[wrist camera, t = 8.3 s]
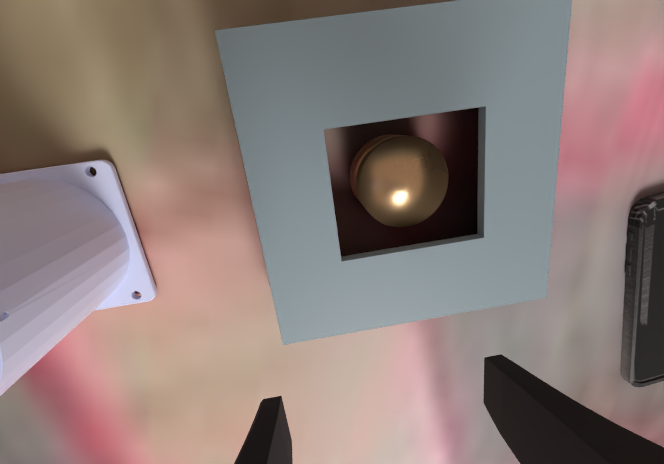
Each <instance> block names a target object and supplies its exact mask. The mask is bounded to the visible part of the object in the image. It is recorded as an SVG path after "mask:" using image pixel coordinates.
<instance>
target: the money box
mask: <svg viewBox="0 0 664 464" xmlns="http://www.w3.org/2000/svg"><path fill="white" fill-rule="evenodd" d="M571 5H572V0H456V1H448V2H440V3H432V4H424V5H416V6H407V7H399V8H391V9H383V10H375V11H367V12H359V13H351V14H343V15H335V16H327V17H318V18H310V19H302V20H294V21H286V22H278V23H270V24H262V25H254V26H246V27H238V28H230V29H221V30H215V35H216V39H217V44H218V49H219V53H220V58H221V62H222V67H223V72H224V76H225V81H226V85H227V90H228V94H229V99H230V104H231V108H232V113H233V117H234V122H235V127H236V131H237V136H238V140H239V145H240V150H241V154H242V159H243V163H244V168H245V172H246V177H247V182H248V186H249V191H250V195H251V200H252V205H253V209H254V214H255V218H256V223H257V228H258V232H259V237H260V241H261V246H262V250H263V255H264V260H265V264H266V269H267V273H268V278H269V283H270V287H271V292H272V296H273V301H274V306H275V310H276V315H277V319H278V324H279V328H280V333H281V338H282V342H283V345H286V344H291V343H297V342H303V341H308V340H314V339H319V338H325V337H330V336H336V335H342V334H347V333H353V332H358V331H364V330H369V329H375V328H381V327H386V326H392V325H397V324H403V323H408V322H414V321H419V320H425V319H431V318H436V317H442V316H447V315H453V314H458V313H464V312H470V311H475V310H481V309H486V308H492V307H497V306H503V305H509V304H514V303H520V302H525V301H531V300H536V299H542V298H546V296H547V284H548V273H549V261H550V249H551V238H552V226H553V215H554V203H555V191H556V180H557V168H558V156H559V145H560V133H561V122H562V110H563V98H564V87H565V75H566V63H567V52H568V40H569V29H570V17H571ZM477 107H479V115H478V228H477V234H474V235H468V236H462V237H456V238H450V239H444V240H438V241H432V242H426V243H419V244H413V245H407V246H401V247H395V248H389V249H383V250H377V251H371V252H365V253H359V254H353V255H347V256H341V254H340V247H339V239H338V232H337V224H336V217H335V210H334V202H333V195H332V188H331V180H330V173H329V166H328V158H327V151H326V144H325V136H324V129H331V128H338V127H345V126H352V125H359V124H366V123H373V122H380V121H387V120H394V119H401V118H408V117H415V116H422V115H429V114H435V113H442V112H449V111H456V110H463V109H470V108H477Z"/></svg>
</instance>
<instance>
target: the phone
mask: <svg viewBox="0 0 664 464" xmlns="http://www.w3.org/2000/svg"><path fill="white" fill-rule="evenodd" d="M621 376H622V377H623V378H624V379H625V380H626V381H628V382H629V383H630V384H631V385H633V386H635V387H644V386H647V385H651V384H654V383H657V382H661V381H664V192H661V193H658V194H654V195H651V196H647V197H645V198H642V199H641V200H639V201H638V202H637V203H636V204H635V205H634V206H633V207H632V209H631V211H630V213H629V217H628V234H627V254H626V274H625V294H624V314H623V334H622V354H621Z"/></svg>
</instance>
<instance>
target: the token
mask: <svg viewBox="0 0 664 464" xmlns="http://www.w3.org/2000/svg"><path fill="white" fill-rule="evenodd" d="M350 184H351V188H352V191H353V193H354V195H355V196H356V198H357V199H358V200H359V202H360V203H361V204H362V205H363V206H364V208H365V209H366V210H367V211H368V212H369V214H370V215H371V216H372V217H373V218H375V219H376V220H377V221H379V222H381V223H383V224H385V225H388V226H392V227H408V226H412V225H415V224H418V223H420V222H422V221H424V220H425V219H427V218H428V217H429V216H431V215H432V214H433V213H434V212H435V211H436V210H437V208H438V207H439V206H440V204H441V203H442V201H443V199H444V197H445V194H446V191H447V187H448V169H447V165H446V162H445V159H444V157H443V156H442V154H441V153H440V151H439V150H438V149H437V148H436V147H435V146H434V145H433V144H431V143H430V142H428V141H426V140H425V139H422V138H419V137H414V136H404V135H393V134H388V135H381V136H378V137H375V138H373V139H371V140H370V141H368V142H367V143H365V144H364V145H363V146H362V147H361V148H360V149H359V151H358V152H357V154H356V155H355V157H354V159H353V161H352V164H351V169H350Z"/></svg>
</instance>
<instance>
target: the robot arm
mask: <svg viewBox="0 0 664 464" xmlns="http://www.w3.org/2000/svg"><path fill="white" fill-rule="evenodd" d="M90 167H93V168H95V170H96V172H97V174H96V176H94V175H92V174H91V172H90ZM135 291H138V292H139V293H140V294H141V296H137V295H136V294H135ZM156 294H157V289H156V286H155V283H154V280H153V277H152V274H151V271H150V268H149V265H148V262H147V259H146V257H145V254H144V251H143V248H142V245H141V242H140V239H139V236H138V233H137V230H136V227H135V225H134V222H133V219H132V216H131V213H130V210H129V207H128V204H127V201H126V198H125V195H124V193H123V190H122V187H121V184H120V181H119V178H118V175H117V172H116V169H115V167H114V165H113V164H112V163H111V162H110V161H107V160H95V161H88V162H81V163H74V164H67V165H60V166H53V167H46V168H39V169H32V170H25V171H18V172H11V173H4V174H0V396H1V395H2V394H3V393H4V392H5V391H6V390H7V389H8V388H9V387H10V386H12V385H13V384H14V383H15V382H16V381H17V380H18V379H19V378H20V377H21V376H22V375H24V374H25V373H26V372H27V371H28V370H29V369H30V368H31V367H32V366H33V365H34V364H36V363H37V362H38V361H39V360H40V359H41V358H42V357H43V356H44V355H45V354H46V353H48V352H49V351H50V350H51V349H52V348H53V347H54V346H55V345H56V344H57V343H58V342H60V341H61V340H62V339H63V338H64V337H65V336H66V335H67V334H68V333H69V332H70V331H72V330H73V329H74V328H75V327H76V326H77V325H78V324H79V323H80V322H81V321H82V320H84V319H85V318H86V317H87V316H88V315H89V314H90V313H91V312H92V311H93V310H99V309H105V308H111V307H117V306H123V305H129V304H135V303H141V302H147V301H151V300H152V299H153V298H154V297H155V296H156ZM484 404H485V406H486V408H487V410H488V412H489V414H490V416H491V418H492V420H493V422H494V423H495V425H496V427H497V429H498V431H499V432H500V434H501V436H502V437H503V439H504V440H505V442H506V443H507V445H508V446H509V448H510V449H511V450H512V452H513V453H514V455H515V456H516V458H517V459H518V461H519V462H520V464H664V447H662V446H660V445H657V444H655V443H653V442H651V441H649V440H647V439H645V438H643V437H641V436H639V435H637V434H635V433H633V432H631V431H629V430H627V429H625V428H623V427H621V426H619V425H617V424H615V423H613V422H612V421H610V420H608V419H606V418H604V417H602V416H601V415H599V414H597V413H595V412H594V411H592V410H590V409H588V408H586V407H585V406H583V405H581V404H580V403H578V402H576V401H574V400H573V399H571V398H569V397H568V396H566V395H564V394H563V393H561V392H560V391H558V390H556V389H555V388H553V387H551V386H550V385H548V384H547V383H545V382H544V381H542V380H540V379H539V378H537V377H536V376H534V375H533V374H531V373H529V372H528V371H526V370H525V369H523V368H522V367H520V366H519V365H517V364H516V363H514V362H512V361H511V360H509V359H508V358H506V357H504V356H503V355H496V356H490V357H485V360H484ZM234 464H292V440H291V436H290V431H289V427H288V423H287V419H286V414H285V410H284V406H283V401H282V397H281V396H278V397H273V398H267V399H263V400H262V402H261V403H260V406H259V409H258V411H257V414H256V416H255V419H254V421H253V424H252V426H251V428H250V431H249V433H248V435H247V438H246V440H245V442H244V444H243V446H242V448H241V450H240V452H239V455H238V457H237V459H236V461H235V463H234Z"/></svg>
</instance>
